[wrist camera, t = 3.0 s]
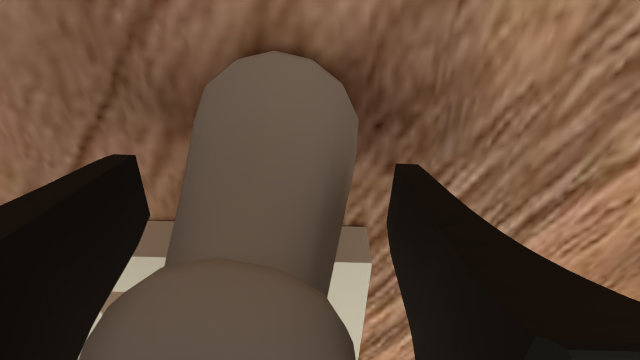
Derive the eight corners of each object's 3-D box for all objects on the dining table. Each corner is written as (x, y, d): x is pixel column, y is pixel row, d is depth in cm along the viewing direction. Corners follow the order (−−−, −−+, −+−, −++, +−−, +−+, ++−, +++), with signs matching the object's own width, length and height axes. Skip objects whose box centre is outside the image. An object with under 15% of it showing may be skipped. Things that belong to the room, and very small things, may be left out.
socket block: (71, 362, 26) (48, 402, 23) (-4, 216, 19) (-45, 251, 17) (348, 369, 26) (350, 408, 24) (366, 226, 19) (371, 263, 17)
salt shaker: (350, 171, 18) (397, 565, 7) (222, 170, 18) (60, 564, 7) (357, 35, 15) (468, 360, 4) (201, 34, 15) (-167, 358, 4)
